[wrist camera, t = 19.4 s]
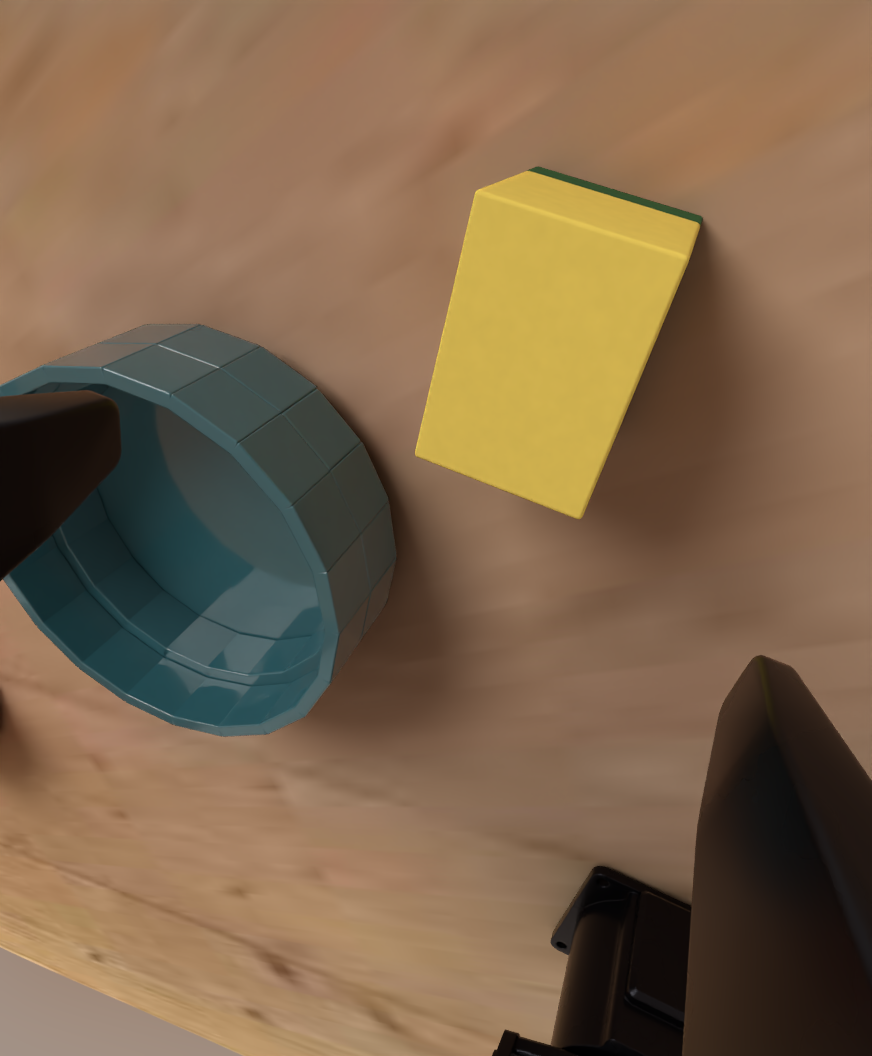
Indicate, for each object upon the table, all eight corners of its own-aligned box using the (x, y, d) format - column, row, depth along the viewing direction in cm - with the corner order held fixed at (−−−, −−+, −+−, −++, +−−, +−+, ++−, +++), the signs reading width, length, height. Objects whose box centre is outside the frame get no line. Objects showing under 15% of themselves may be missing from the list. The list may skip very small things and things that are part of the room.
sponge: (612, 436, 20) (580, 522, 16) (476, 386, 21) (412, 456, 17) (704, 216, 17) (690, 257, 13) (536, 165, 18) (474, 188, 14)
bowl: (370, 696, 30) (311, 791, 26) (94, 573, 32) (0, 642, 28) (438, 399, 22) (368, 469, 18) (66, 265, 24) (-70, 301, 20)
